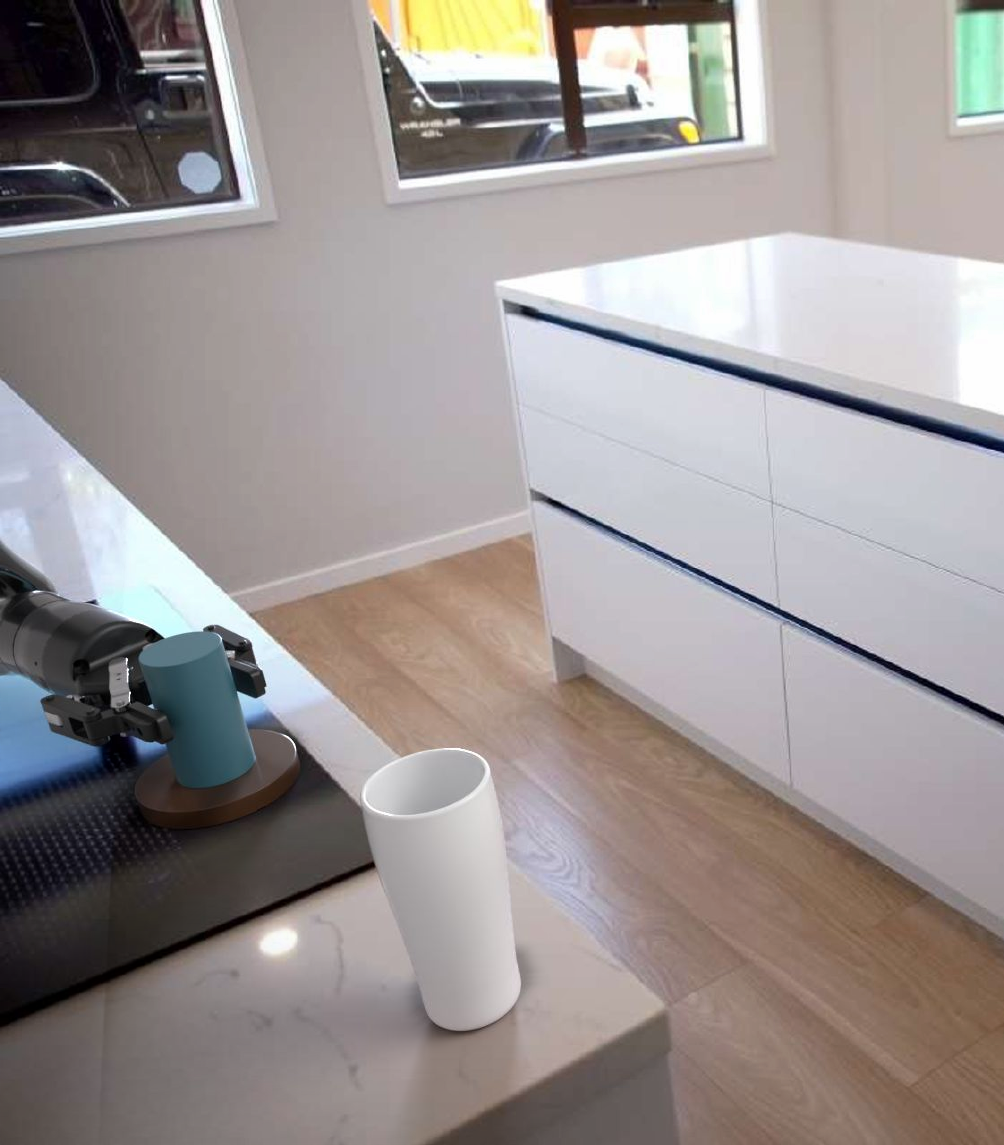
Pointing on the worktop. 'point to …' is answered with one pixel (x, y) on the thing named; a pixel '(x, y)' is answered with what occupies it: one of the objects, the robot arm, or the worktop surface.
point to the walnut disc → (219, 787)
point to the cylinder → (198, 708)
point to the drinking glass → (446, 881)
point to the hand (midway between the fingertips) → (213, 706)
